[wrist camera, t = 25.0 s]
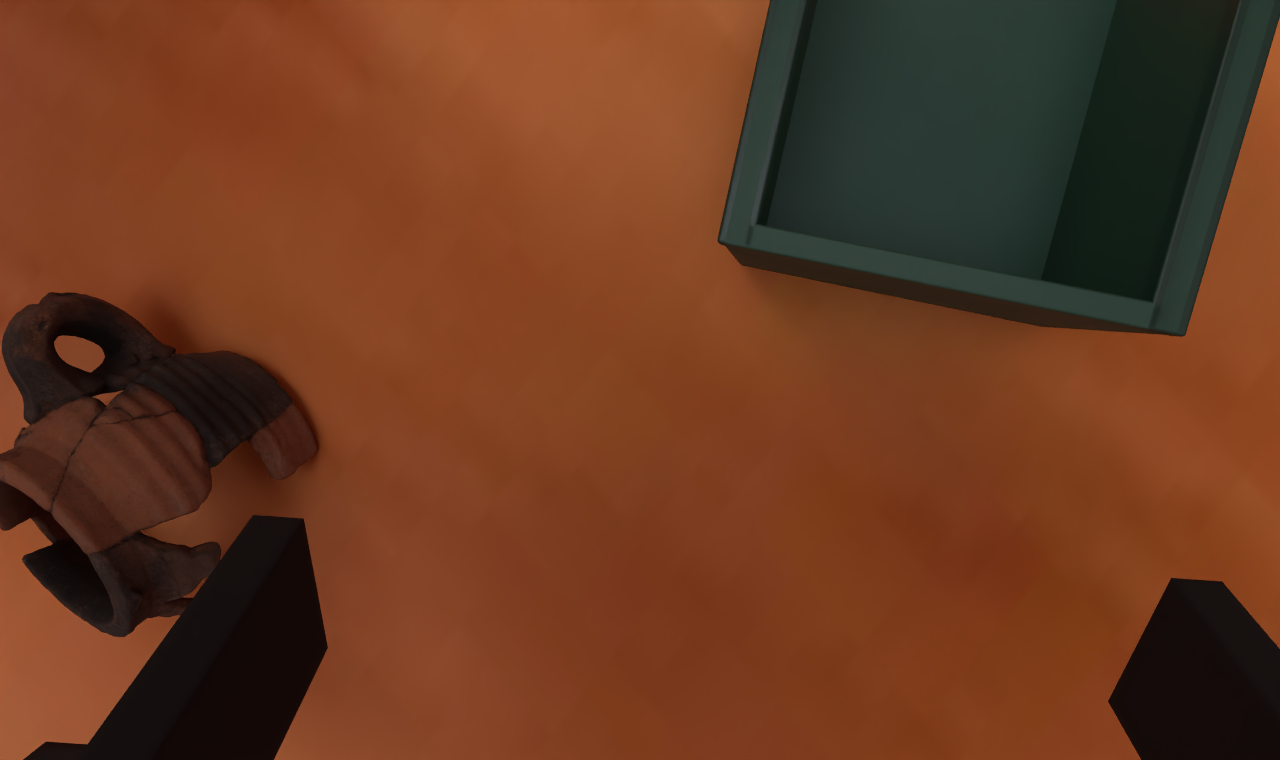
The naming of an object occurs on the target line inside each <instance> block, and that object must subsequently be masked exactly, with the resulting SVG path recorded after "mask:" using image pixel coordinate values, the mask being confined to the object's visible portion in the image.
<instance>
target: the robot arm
mask: <svg viewBox="0 0 1280 760" xmlns="http://www.w3.org/2000/svg"><path fill="white" fill-rule="evenodd" d="M327 648H328V646H327V641H326V635H325V630H324V625H323V619H322V614H321V609H320V603H319V598H318V593H317V587H316V582H315V576H314V571H313V566H312V560H311V555H310V550H309V544H308V539H307V534H306V528H305V523H304V519H302V518H287V517H273V516H258V515H253V516H252V517H251V519H250V520H249V522H248V523H247V524H246V526H245V527H244V528H243V530H242V531H241V533H240V534H239V535H238V537H237V538H236V540H235V541H234V542H233V544H232V545H231V546H230V548H229V549H228V551H227V552H226V553H225V555H224V556H223V558H222V559H221V560H220V562H219V563H218V564H217V566H216V567H215V569H214V570H213V571H212V573H211V574H210V576H209V577H208V578H207V580H206V581H205V583H204V584H203V585H202V587H201V588H200V589H199V591H198V592H197V594H196V595H195V596H194V598H193V599H192V601H191V602H190V603H189V605H188V606H187V607H186V609H185V610H184V612H183V613H182V614H181V616H180V617H179V619H178V620H177V621H176V623H175V624H174V625H173V627H172V628H171V630H170V631H169V632H168V634H167V635H166V637H165V638H164V639H163V641H162V642H161V643H160V645H159V646H158V648H157V649H156V650H155V652H154V653H153V655H152V656H151V657H150V659H149V660H148V661H147V663H146V664H145V666H144V667H143V668H142V670H141V671H140V673H139V674H138V675H137V677H136V678H135V680H134V681H133V682H132V684H131V685H130V686H129V688H128V689H127V691H126V692H125V693H124V695H123V696H122V698H121V699H120V700H119V702H118V703H117V704H116V706H115V707H114V709H113V710H112V711H111V713H110V714H109V716H108V717H107V718H106V720H105V721H104V722H103V724H102V725H101V727H100V728H99V729H98V731H97V732H96V734H95V735H94V736H93V738H92V739H91V740H90V742H89V743H88V745H86V744H72V743H57V742H45V743H44V744H42V745H41V746H40V747H39V748H37V749H36V750H35V751H34V752H32V753H31V754H30V755H29V756H27V757H26V758H25V759H23V760H274V758H275V756H276V754H277V752H278V750H279V748H280V746H281V744H282V742H283V740H284V738H285V735H286V733H287V731H288V729H289V727H290V725H291V723H292V721H293V719H294V717H295V715H296V713H297V711H298V708H299V706H300V704H301V702H302V700H303V698H304V696H305V694H306V692H307V690H308V688H309V686H310V684H311V682H312V679H313V677H314V675H315V673H316V671H317V669H318V667H319V665H320V663H321V661H322V659H323V657H324V655H325V652H326V650H327ZM1108 702H1109V704H1110V706H1111V707H1112V709H1113V711H1114V713H1115V714H1116V716H1117V718H1118V720H1119V721H1120V723H1121V725H1122V727H1123V728H1124V730H1125V732H1126V734H1127V735H1128V737H1129V739H1130V741H1131V742H1132V744H1133V746H1134V748H1135V749H1136V751H1137V753H1138V755H1139V756H1140V758H1141V760H1280V649H1279V648H1278V647H1277V645H1276V644H1275V643H1274V642H1273V641H1272V640H1271V638H1270V637H1269V636H1268V635H1267V634H1266V633H1265V631H1264V630H1263V629H1262V628H1261V627H1260V625H1259V624H1258V623H1257V622H1256V621H1255V620H1254V618H1253V617H1252V616H1251V615H1250V614H1249V613H1248V611H1247V610H1246V609H1245V608H1244V607H1243V606H1242V604H1241V603H1240V602H1239V601H1238V600H1237V599H1236V597H1235V596H1234V595H1233V594H1232V593H1231V592H1230V590H1229V589H1228V588H1227V587H1226V586H1225V585H1224V583H1223V582H1221V581H1206V580H1191V579H1177V578H1171V580H1170V582H1169V584H1168V586H1167V588H1166V590H1165V591H1164V593H1163V595H1162V597H1161V599H1160V601H1159V603H1158V605H1157V607H1156V609H1155V611H1154V613H1153V615H1152V617H1151V619H1150V621H1149V623H1148V625H1147V626H1146V628H1145V630H1144V632H1143V634H1142V636H1141V638H1140V640H1139V642H1138V644H1137V646H1136V648H1135V650H1134V652H1133V654H1132V656H1131V658H1130V660H1129V662H1128V663H1127V665H1126V667H1125V669H1124V671H1123V673H1122V675H1121V677H1120V679H1119V681H1118V683H1117V685H1116V687H1115V689H1114V691H1113V693H1112V695H1111V697H1110V699H1109V700H1108Z"/></svg>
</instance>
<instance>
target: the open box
mask: <svg viewBox="0 0 1280 760" xmlns="http://www.w3.org/2000/svg"><path fill="white" fill-rule="evenodd" d="M1279 17H1280V0H770V3H769V8H768V12H767V17H766V22H765V26H764V31H763V35H762V40H761V44H760V49H759V53H758V58H757V62H756V67H755V72H754V76H753V81H752V85H751V90H750V94H749V99H748V103H747V108H746V113H745V117H744V122H743V126H742V131H741V135H740V140H739V144H738V149H737V153H736V158H735V163H734V167H733V172H732V176H731V181H730V185H729V190H728V194H727V199H726V204H725V208H724V213H723V217H722V222H721V226H720V231H719V235H718V243H719V244H721V245H724V246H726V247H727V249H728V250H729V251H730V252H731V253H732V255H733V256H734V257H735V258H736V259H737V260H738V262H739V263H740V264H741V265H744V266H749V267H754V268H759V269H763V270H768V271H773V272H778V273H783V274H788V275H793V276H798V277H802V278H807V279H812V280H817V281H822V282H827V283H832V284H836V285H841V286H846V287H851V288H856V289H861V290H866V291H871V292H875V293H880V294H885V295H890V296H895V297H900V298H905V299H909V300H914V301H919V302H924V303H929V304H934V305H939V306H944V307H948V308H953V309H958V310H963V311H968V312H973V313H978V314H983V315H987V316H992V317H997V318H1002V319H1007V320H1012V321H1017V322H1021V323H1026V324H1031V325H1036V326H1041V327H1055V328H1071V329H1086V330H1101V331H1116V332H1131V333H1147V334H1162V335H1169V336H1180V337H1182V336H1185V334H1186V331H1187V328H1188V324H1189V321H1190V317H1191V314H1192V311H1193V307H1194V304H1195V301H1196V297H1197V294H1198V291H1199V287H1200V284H1201V280H1202V277H1203V274H1204V270H1205V267H1206V264H1207V260H1208V257H1209V253H1210V250H1211V247H1212V243H1213V240H1214V237H1215V233H1216V230H1217V226H1218V223H1219V220H1220V216H1221V213H1222V210H1223V206H1224V203H1225V199H1226V196H1227V193H1228V189H1229V186H1230V183H1231V179H1232V176H1233V172H1234V169H1235V166H1236V162H1237V159H1238V156H1239V152H1240V149H1241V145H1242V142H1243V139H1244V135H1245V132H1246V129H1247V125H1248V122H1249V118H1250V115H1251V112H1252V108H1253V105H1254V102H1255V98H1256V95H1257V91H1258V88H1259V85H1260V81H1261V78H1262V75H1263V71H1264V68H1265V64H1266V61H1267V58H1268V54H1269V51H1270V48H1271V44H1272V41H1273V37H1274V34H1275V31H1276V27H1277V24H1278V21H1279Z"/></svg>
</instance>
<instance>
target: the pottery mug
mask: <svg viewBox="0 0 1280 760" xmlns="http://www.w3.org/2000/svg"><path fill="white" fill-rule="evenodd" d="M62 335H65V336H76V337H80V338H84V339H86V340H89V341H91V342H94V343H95V344H97V345H99V346H100V347H101V348H102V349H103V352H104V354H105V358H104V361H103V362H102V364H101V365H100V366H99V367H97V368H96V369H95V370H94V371H92V372H91V373H89V372H86V371H84V370H81V369H79V368H76V367H73V366H71V365H69V364H67V363H66V362H65V361H63V360H62V359H61V358H60V357H59V355H58V354H57V352H56V350H55V347H54V341H55V340H56V338H57V337H58V336H62ZM175 352H176V349H175V348H173V347H171V346H168V345H165V344H163V343H161V342H160V341H158V340H157V339H156V338H155V337H154V336H153V335H152V334H151V333H150V332H149V331H148V330H147V329H146V328H145V327H144V326H143V325H142V324H141V323H140V322H138V321H137V320H136V319H135V318H133V317H132V316H130V315H129V314H128V313H126V312H125V311H123V310H121V309H119V308H118V307H116V306H114V305H112V304H110V303H108V302H106V301H104V300H101V299H98V298H95V297H91V296H89V295H84V294H78V293H54V292H52V293H48V294H47V295H46V296H45V297H43V298H42V299H41V301H40V303H39V304H31V305H28V306H26V307H25V308H24V309H22V310H21V311H19V312H18V313H16V314H15V315H14V317H13V318H12V319H11V320H10V322H9V324H8V326H7V328H6V331H5V333H4V336H3V340H2V353H3V357H4V361H5V364H6V367H7V369H8V371H9V374H10V375H11V377H12V379H13V380H14V382H15V384H16V385H17V387H18V389H19V391H20V393H21V395H22V397H23V402H24V419H25V420H26V421H27V422H28V423H29V424H30V426H28V427H27V428H22V429H21V431H20V433H19V435H18V437H17V438H16V440H15V444H14V448H13V449H11V450H8V451H7V452H5V453H2V454H0V528H1V529H2V530H3V531H6V530H10V529H12V528H13V527H15V526H16V525H18V524H20V523H22V522H23V521H26V520H27V519H29V518H31V519H32V520H33V521H34V522H35V523H36V525H37V526H38V528H39V529H40V530H41V531H42V533H43V534H44V535H45V536H46V537H47V538H48V539H49V540H50V541H51V542H52V543H53V544H52V545H51V546H47V547H45V548H42V549H39V550H37V551H35V552H32V553H29V554H26V555H24V556H23V558H22V561H23V563H24V564H25V565H26V567H27V568H28V569H29V570H30V572H31V573H32V574H33V575H34V576H35V577H36V578H37V579H38V580H39V581H40V582H41V584H42V585H43V586H44V587H45V588H46V589H48V590H49V591H50V592H51V593H52V594H53V595H54V596H55V597H56V598H57V599H58V600H59V601H60V602H61V603H62V604H63V605H64V606H65V607H67V608H68V609H69V610H71V611H72V612H73V613H74V614H76V615H77V616H79V617H80V618H81V619H83V620H84V621H87V622H88V623H89V624H91V625H92V626H94V627H95V628H97V629H99V630H100V631H101V632H103V633H108V634H109V635H112V636H115V637H125V636H127V635H128V634H130V633H131V632H133V630H134V629H135V627H136V626H137V625H139V624H140V623H141V622H143V621H144V620H145V619H147V618H153V617H157V616H162V617H171V616H174V615H181V614H182V613H183V612H184V610H185V609H186V607H187V606H188V605H189V603H190V602H191V601H192V599H193V598H182V597H183V596H184V595H186V594H189V593H191V592H192V591H193V590H194V589H195V588H196V587H197V586H198V584H199V583H200V582H201V581H202V580H203V579H204V578H206V577H209V576H210V574H211V573H212V571H213V570H214V569H215V567H216V566H217V564H218V563H219V562H220V556H221V549H220V545H219V544H218V543H216V542H208V543H204V544H201V545H197V546H195V547H193V548H190V547H188V546H185V545H176V544H171V543H167V542H162V541H159V540H157V539H155V538H152V537H149V536H147V535H144V534H142V533H140V531H141V530H144V529H148V528H152V527H154V526H156V525H158V524H160V523H163V522H167V521H169V520H172V519H175V518H177V517H180V516H183V515H187V514H189V513H192V512H195V511H196V510H198V509H199V507H200V505H201V504H202V503H203V502H204V501H205V500H206V499H207V497H208V495H209V493H210V491H211V488H212V482H211V473H210V468H212V467H214V466H217V465H218V464H219V463H220V462H221V461H222V460H223V459H224V458H225V457H226V456H227V455H228V454H229V453H230V452H231V451H232V450H233V449H235V448H236V447H237V446H238V445H239V444H240V443H242V442H244V441H246V440H247V441H249V443H250V444H251V446H252V447H253V448H254V449H255V450H257V452H258V454H259V456H260V457H261V458H262V460H263V462H264V464H265V466H266V467H267V469H268V471H269V473H270V476H271V477H272V478H273V479H275V480H283V479H286V478H287V477H289V476H290V475H292V474H293V473H294V472H295V471H296V469H297V468H298V467H299V466H300V465H302V464H303V463H305V462H306V461H307V460H308V459H309V458H311V457H312V456H313V455H314V454H316V452H317V445H316V443H315V440H314V436H313V433H312V431H311V430H310V428H309V426H308V424H307V422H306V420H305V418H304V417H303V415H302V414H301V413H300V411H299V410H298V408H297V407H296V405H294V404H293V402H292V400H291V398H290V397H289V395H288V394H287V393H286V392H285V391H284V390H283V389H282V388H281V387H280V385H279V384H278V383H277V380H276V379H275V378H274V377H272V376H271V375H270V374H268V373H267V372H266V371H265V370H264V369H263V368H262V367H261V366H260V365H258V364H256V363H255V362H254V361H252V360H251V359H248V358H246V357H243V356H240V355H238V354H236V353H232V352H228V351H217V352H211V353H189V354H175ZM122 390H123V392H121V393H120V394H118V395H117V396H115V397H114V399H113V400H112V401H110V403H109V405H107V406H106V405H105V404H104V403H103V402H101V401H100V400H98V399H96V398H93V396H96V395H99V394H104V393H112V392H117V391H122Z"/></svg>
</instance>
